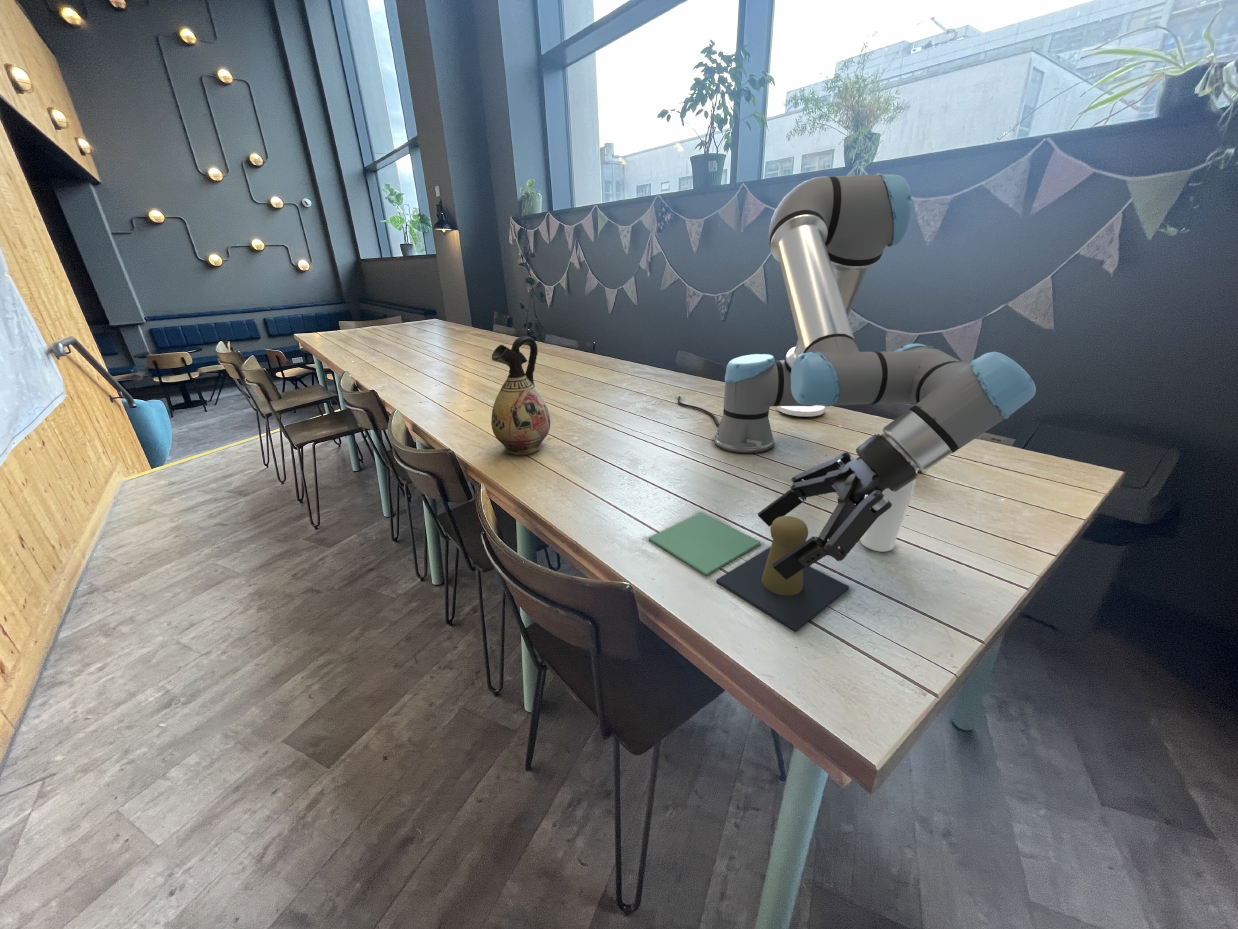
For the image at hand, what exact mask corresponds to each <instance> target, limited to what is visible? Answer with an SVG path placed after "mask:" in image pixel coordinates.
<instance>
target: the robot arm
mask: <svg viewBox="0 0 1238 929" xmlns="http://www.w3.org/2000/svg"><path fill="white" fill-rule="evenodd" d="M912 204H913V202H912V192H911V188H910V184H909V183H908V180H906V179H905V177H903V176H902V175H900V174H884V173H879V172H878V173H876V174H860V175H837V176H834V175H833V176H827V175H826V176H817V177H813V178H809V179H806V180H805V181H802V182H800V183H799V184H797V185H796V186H795V187H794V188H792V190H790V191H789V192H787V194H786V195H785V196H784V197H783V198H782V200H781V201H780V202H779V203H778V205H777V206H776V208H775V210H774V212H773V214H772V217H771V219H770V223H769V226H768V245H769V249H770V253H771V255H772V257H773V258H774V260H775V261H776V262H778V263H779V264H780V269H781V273H782V277H783V281H784V285H785V289H786V293H787V298H788V302H789V307H790V311H791V315H792V319H793V323H794V327H795V331H796V336H797V341H796V345H795V346H793V347H791V348H790V349H789V350H788V351H787V352H786V355H785V359H782V360H779V359H777V360H776V359H775V357H774V355H772V354H768V353H762V354H760V353H753V354H745V355H741V356H738V357H735V358H732V359H731V360H729V362H728V363H727V364H726V368H725V369H726V370H725V376H724V397H723V410H722V417H721V419H720V421H718V419H717V416H716V415H714V414H713V413H712V412H710V411H708V410H706V409H704V408H702V407H699V406H695V405H693V404H687V403H683V402H682V401H681V398H682V397H681V395H678V397H677V403H678V404H679V405H680V406H683V407H686V408H692V409H696V410H699V411H701V412H704V413H706V414H708V415H709V416H711V417H712V418H713V420H714V423H715V424H716V426H717V429H716V432H715V435H714V444H715V445H716V446H717V447H718V448H720V449H721V450H724V451H728V452H731V453H738V454H760V453H764V452H767V451H769V450H770V449H772V447H773V446H774V436H773V433H772V428H771V423H770V420H769V416H770V415H769V414H770V408H771V407H778V406H808V407H809V406H816V405H817V406H825V407H831V406H852V405H853V406H857V405H870V406H872V405H873V406H875V405H876V406H878V405H879V406H880V405H881V406H883V405H884V406H885V405H913V406H911V407H909V409H906V411H904V412H903V413H901V414H900V415H898V416H897V417H896V418H895V419H893V420H892V421H890V423H888V424H887V425H885V426H884V427H882V432H883V433H882V434H880V433H877V434H873V435H872V436H871V437H869V438H868V439H867V440H865V441H864V442H863V443H861V444H860V445H858V446H857V447H856V448H855V453H856V454H857V455H858V457H857V458H854V457H853V456H852V455H851V454H850V453H849V452H848V451H847V450H846V451H842V453H840V454H838V455H837V456H835V457H834V458H832V459H830V460H828V461H825V462H823V463H821V464H819V465H816V466H814V467H812V468H809V469H807V470H804V471H802V472H800V473H797V474H795V475H793V476H792V477H791V482H792V484H791V485H790V489H788V490H787V491H786V492H784V493H783V494H782V495H781V496H779V497H777V498H776V499H775V500H774V501H772V502H771V503H770V504H768V505H767V506H766V507H764V508H763V509H762V510H760V511H759V512H757V517H758V518H759V519H760V520H762V522H764V523H765V525H766V526H768V527H771V525H772V523H773V521H774V520H775V519H776V518H778V517H781V516H787V515H788V514H789V513H791V512H792V511H793V510H795V509H796V508H797V507H799V506H800V505H801V504H803V502H806V500H807V498H810V497H816V496H817V497H818V496H821V495H826V494H832V493H835V494H836V495H837V496H838V497H837V499H836V501H837V504H836V506H835V508H834V510H833V511H832V513H831V515H830V516H829V518H828V520H827V522H825V525H824V526H823V528H822V530H821V532H820V533H819V534H818V536H816V535H815V536H811V537H810V538H807V539H806V541H805V542H804V543H803V544H801V545H800V546H798V547H797V548H795V549H794V550H792V551H791V552H789V553H788V554H786V555H785V556H784V557H782V558H781V559H779V560H778V561H776V562H775V563H773V564H772V565H773V568H774V569H775V570H776V571H777V572H778V573H779V574H781V575H782V576H783V577H784V578H785V579H786V580H787V579H788V578H790V577H791V576H793V575H794V574H796V573H797V572H799V571H800V570H802V569H803V568H806V567H809V566H810V567H811V566H812V565H814V564H815V563H817V562H819V561H821V559H823V558H825V557H826V556H829V557H831V558H833V559H834V560H836V561H837V562H841V561H843V560H844V559H845V558H846V557H847V556H848V554H849V553H850V552H851V550H852V549H854V547H855V546H856V545H857V543H858V542H859V541H860V538H861V537H862V536H863V535H864V534H865V532H866V531H867V530H868V529H869V528H870V526H871V525H872V524H873V523H874V522H875V520H876V519H877V518H878V517H879V516H880V515H882V514H883V513H884V512H885V511H887V510H888V509H889V508H890V507H891V506H892V503H891V502H890V501H889V500H888V499H887V498H886V497H885V496H884V495H883V494H882V492H883V491H884V490H885V489H887V488H889V489H890V490H891V491H898V490H899V489H901V488H902V487H904V486H905V485H907V484H908V483H910V482H911V481H913V480H914V479H916V480H917V478H918V477H916V476H918V471H919V472H920V471H922V473H924V472H927V471H929V470H930V469H931V468H932V467H934V466H936V465H937V464H938V463H940V462H941V461H943V460H945V459H946V458H947V457H949V456H950V455H952V454H954V453H956V452H957V451H958V450H960V449H961V448H963V447H964V446H967V445H968V444H969V443H971V442H972V441H974V440H975V439H977V438H979V437H980V436H981V435H982V434H984V433H986V432H987V431H989V430H990V429H992V428H994V427H995V426H996V425H998V424H1000V423H1001V422H1002V421H1004V420H1007V419H1009V418H1010V416H1011V415H1013V414H1014V413H1015V412H1016V411H1018V410H1019V409H1020V408H1022V407H1023V406H1024V405H1027V403H1028V402H1030V401H1031V400H1032V399H1033V398H1034V397H1035V396H1036V392H1037V387H1036V384H1035V382H1034V380H1033V379H1032V377H1031V376H1030V374H1029V373H1028V372H1027V371H1026V370H1025V369H1024V368H1023V367H1022V366H1021V365H1020V364H1018V363H1017V362H1016V361H1015V360H1014V359H1012V358H1010V357H1009V356H1007V355H1006V354H1004V353H1001V352H998V351H991V352H985V353H984V354H982V355H981V356H979V357H976V358H975V359H973V360H971V361H970V362H969V363H967V362H963V361H961V360H959V359H957V358H955V357H954V356H952V355H949V354H948V353H945V351H942V350H941V349H940V348H936V347H935V346H931V345H926V344H924V343H923V344H922V343H909V344H905V345H904V346H902V347H899V348H897V349H896V350H892V351H891V350H888V351H887V350H886V351H860V350H859V347H858V344H857V343H856V339H855V335H854V333H853V329H852V326H851V324H850V323H851V322H850V320H849V315H850V313H851V310H852V308H853V306H854V303H855V300H856V298H857V296H858V293H859V290H860V288H861V286H862V283H863V280H864V278H865V275H866V273H867V270H868V268H870V267H871V266H874V265H875V264H877V263H878V262H879V261H881V258H882V256H883V253H884V251H885V249H886V247H888V248H889V247H894V246H896V245H898V244H899V243H900V242H902V240H903V239H904V238H905V236H906V234H907V232H908V228H909V225H910V221H911V215H912V208H913V206H912ZM916 471H917V473H916Z"/></svg>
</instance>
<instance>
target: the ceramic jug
mask: <svg viewBox="0 0 1238 929" xmlns="http://www.w3.org/2000/svg"><path fill="white" fill-rule="evenodd" d="M511 345H512V346H511V349H510V348H509V347H508V346H505V345H504V344H499V345H498V346H497V347H496V348H495V349H494V350H493V352H492V354H491V361H493V362H496V363H500V364H503V365H505V366H507V367H509V370H508V375H507V377H506V379H505V381H504V382H503V384H502V386H501V388H500V389H499V392H498V394H497V395H496V398H495V401H494V403H493V406H492V410H491V421H490V423H491V424H490V426H491V430H492V433H493V435H494V437H495V438H496V440H497V441H498V442H499V443H500V444H501V445H502V446H503V447H504V448H505V451H506V454H511V455H515V456H526V455H530V454H533V453H536V452H538V451H539V450H540V449H541V446H542V445H541V444H542V443H543V441H544V440H545V439H546V438H547V436H548V435H549V432H550V429H551V416H550V411H549V408H548V405H547V403H546V401H545V399H544V398H543V397H542V395H541V393H540V392H539V390H538V389H537V387H536V385H535V379H534V372H535V369H536V363H537V358H538V355H539V354H538V345H537V342H536V340H535V339H534V338H532V337H530V336H528V335H523V336H519V337H518V338H516V339H515V340H514V341H513V343H512V344H511ZM522 346H527V347H529V356H528V359H527V358H526V356H525V355H524V353H523V352H521V351H520V348H521V347H522ZM526 363H527V367H526V370H524V368H523V364H526Z"/></svg>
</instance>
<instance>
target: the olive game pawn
mask: <svg viewBox="0 0 1238 929" xmlns="http://www.w3.org/2000/svg"><path fill="white" fill-rule="evenodd" d="M769 528H770V529H769V531H770V537H771V538H772V541H771V545H770V547H771V548H770V547H769V548H770V552H769V555H768V559H767V562H766V566H765V569H764V573H763V576H762V583H763V585H764V586H765V587H766V588H767V589H768V590H769V591H771V592H773V593H776V594H779V595H785V596H790V595H795V594H798V593H799V592H801V591H802V588H803V569H802V570H800V571H799V572H797V573H796V574H794V575H793V576H791V577H790V578H788V579H787V580H786V579H785V578H784V577H783V576H782V575H781V574H779V573H778V572H777V571H776V570H775V569H774V568H773V565H772V564H773V563H775V562H776V561H778V560H779V559H781V558H782V557H784V556H785V555H786V554H788V553H789V552H791V551H792V550H794V549H795V548H797V547H798V546H800V545H801V544H803V543H804V542H805V541H807V540H808V537H809V528H808V526H807V524H806V522H805V521H803V520H802V519H800V518H798V517H795V516H791V515H785V516H781V517H778V518H776V519H775V520H774V521H773V523H772V525H771V526H770V527H769Z"/></svg>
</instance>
